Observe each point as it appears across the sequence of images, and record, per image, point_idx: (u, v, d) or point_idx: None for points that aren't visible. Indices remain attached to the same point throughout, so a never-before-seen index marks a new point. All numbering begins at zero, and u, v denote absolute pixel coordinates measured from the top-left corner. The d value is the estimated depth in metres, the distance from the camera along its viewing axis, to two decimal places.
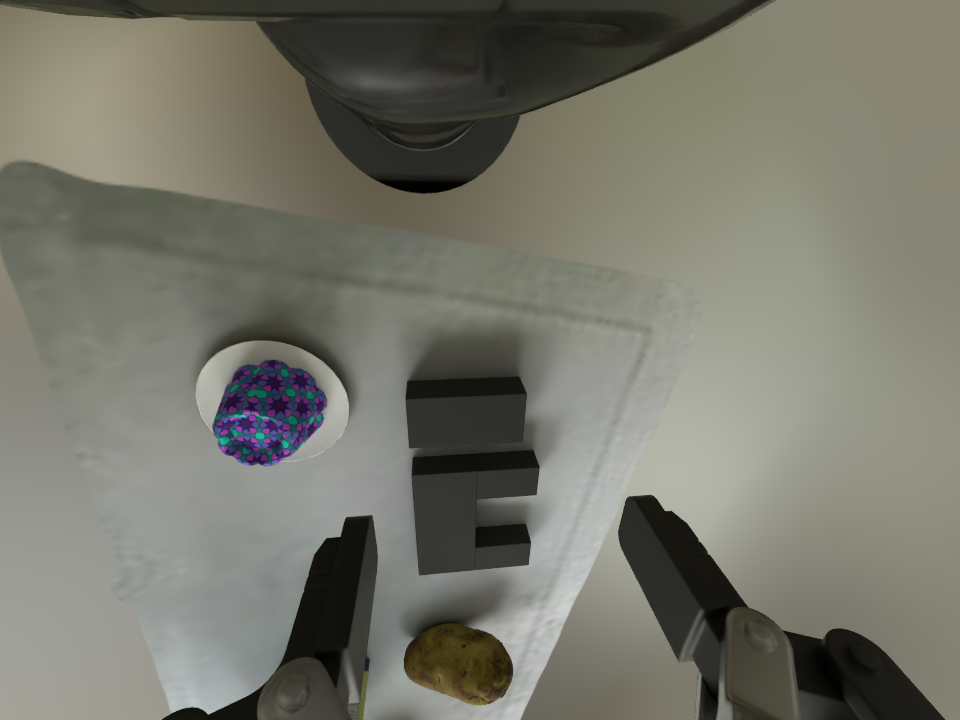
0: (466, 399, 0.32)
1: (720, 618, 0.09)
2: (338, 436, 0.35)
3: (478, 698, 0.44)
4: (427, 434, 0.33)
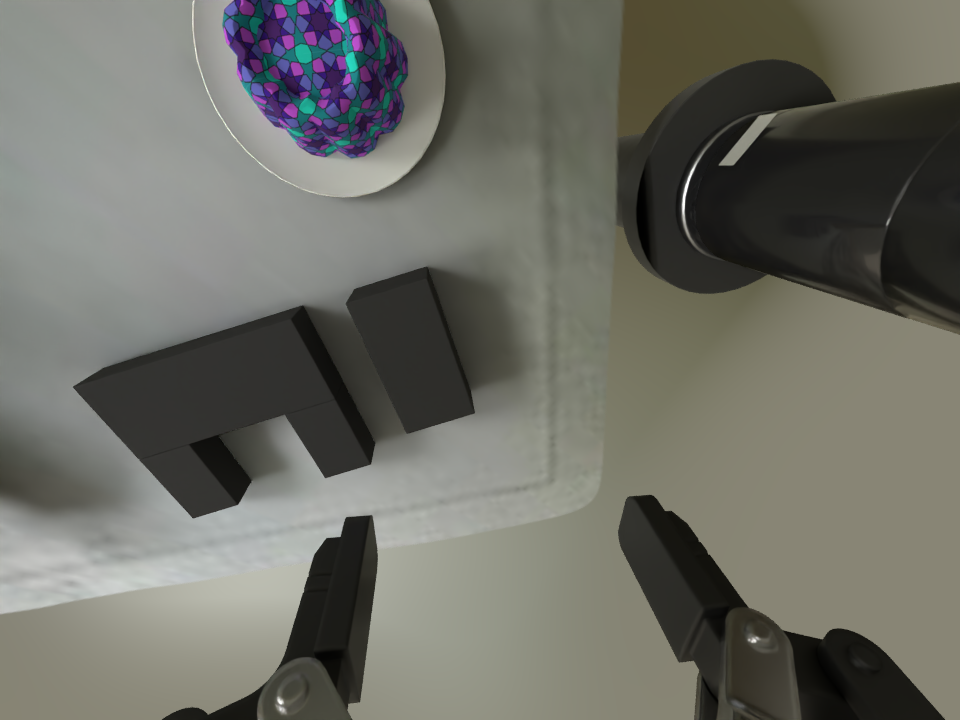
0: (448, 351, 0.25)
1: (720, 618, 0.09)
2: (304, 187, 0.22)
3: None
4: (378, 321, 0.23)
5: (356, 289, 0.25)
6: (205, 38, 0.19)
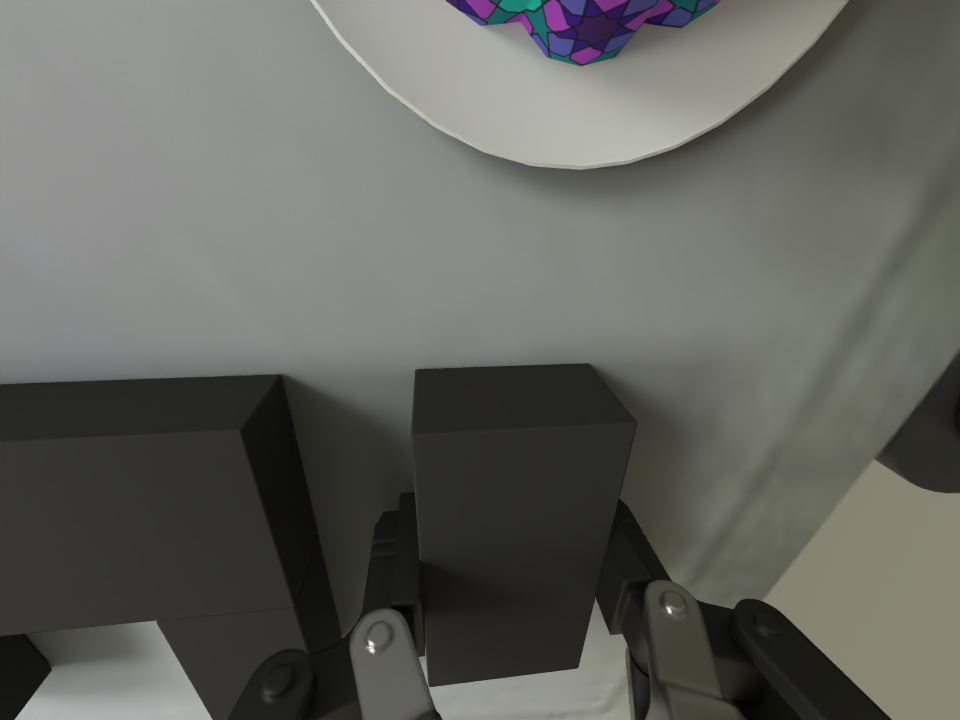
0: (593, 569, 0.11)
1: (644, 591, 0.10)
2: (396, 86, 0.07)
3: None
4: (475, 488, 0.09)
5: (422, 373, 0.10)
6: None
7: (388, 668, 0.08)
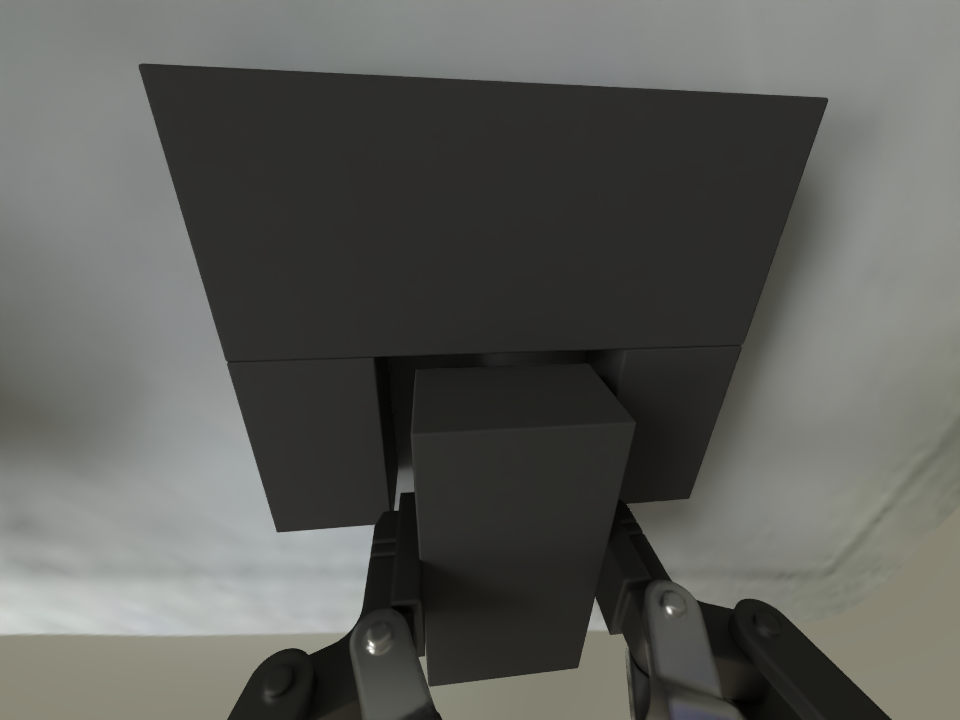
0: (593, 569, 0.11)
1: (644, 591, 0.10)
2: None
3: None
4: (475, 488, 0.09)
5: (422, 373, 0.11)
6: None
7: (388, 667, 0.08)
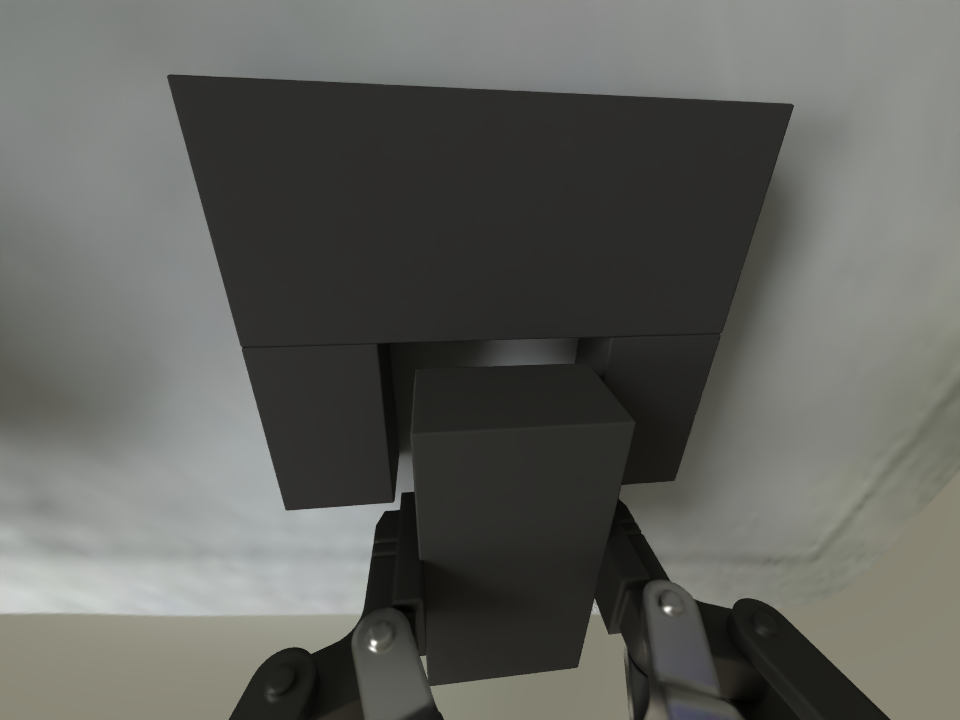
0: (593, 568, 0.11)
1: (642, 590, 0.10)
2: None
3: None
4: (474, 488, 0.09)
5: (422, 373, 0.11)
6: None
7: (390, 667, 0.08)
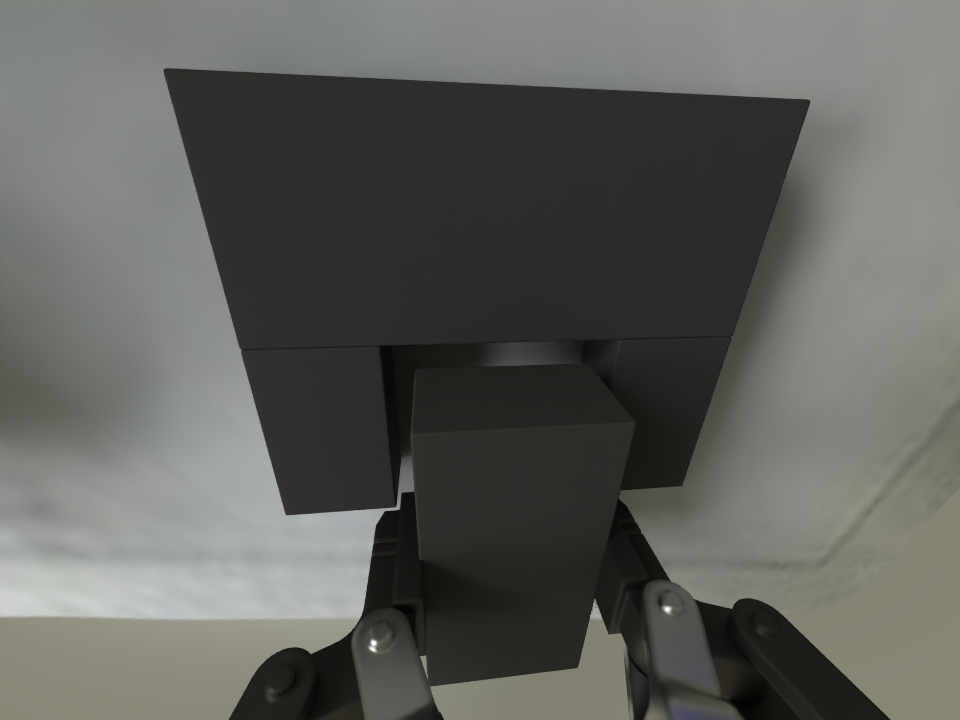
0: (593, 568, 0.11)
1: (642, 591, 0.10)
2: None
3: None
4: (474, 487, 0.09)
5: (422, 373, 0.11)
6: None
7: (390, 667, 0.08)
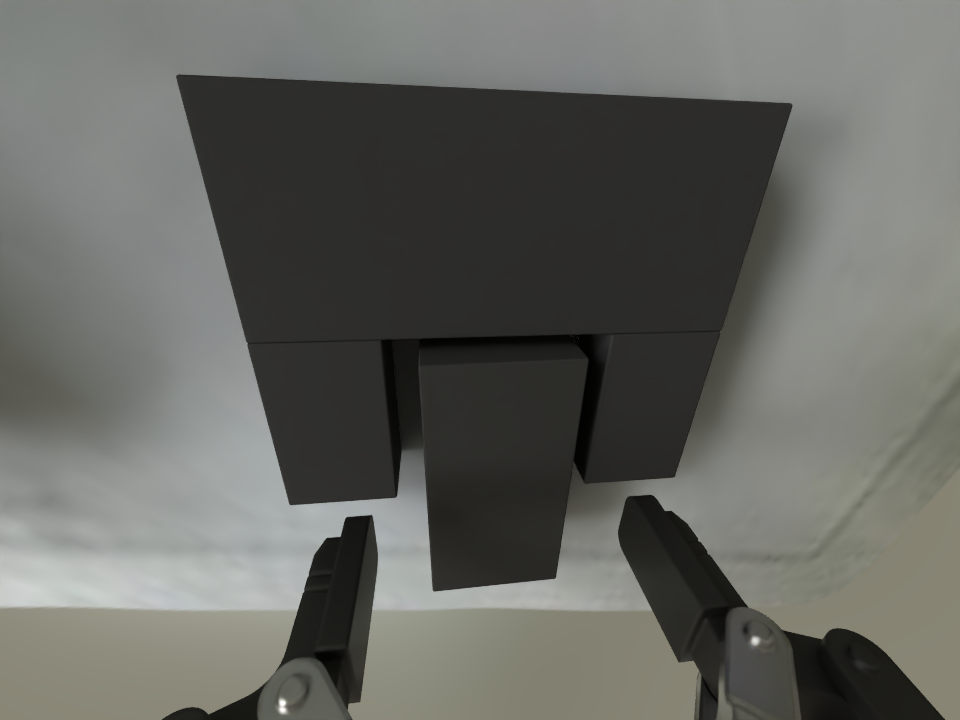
0: (563, 485, 0.14)
1: (720, 618, 0.09)
2: None
3: None
4: (467, 411, 0.12)
5: None
6: None
7: None
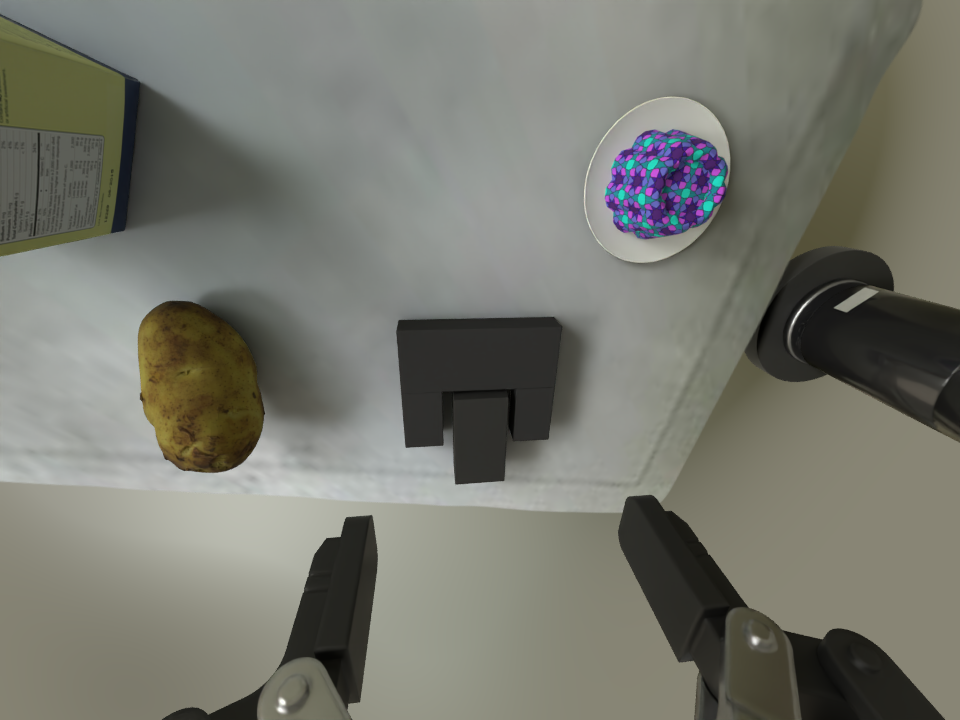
0: (503, 440, 0.37)
1: (720, 618, 0.09)
2: (605, 247, 0.32)
3: (189, 442, 0.28)
4: (469, 414, 0.36)
5: None
6: (602, 149, 0.29)
7: None
